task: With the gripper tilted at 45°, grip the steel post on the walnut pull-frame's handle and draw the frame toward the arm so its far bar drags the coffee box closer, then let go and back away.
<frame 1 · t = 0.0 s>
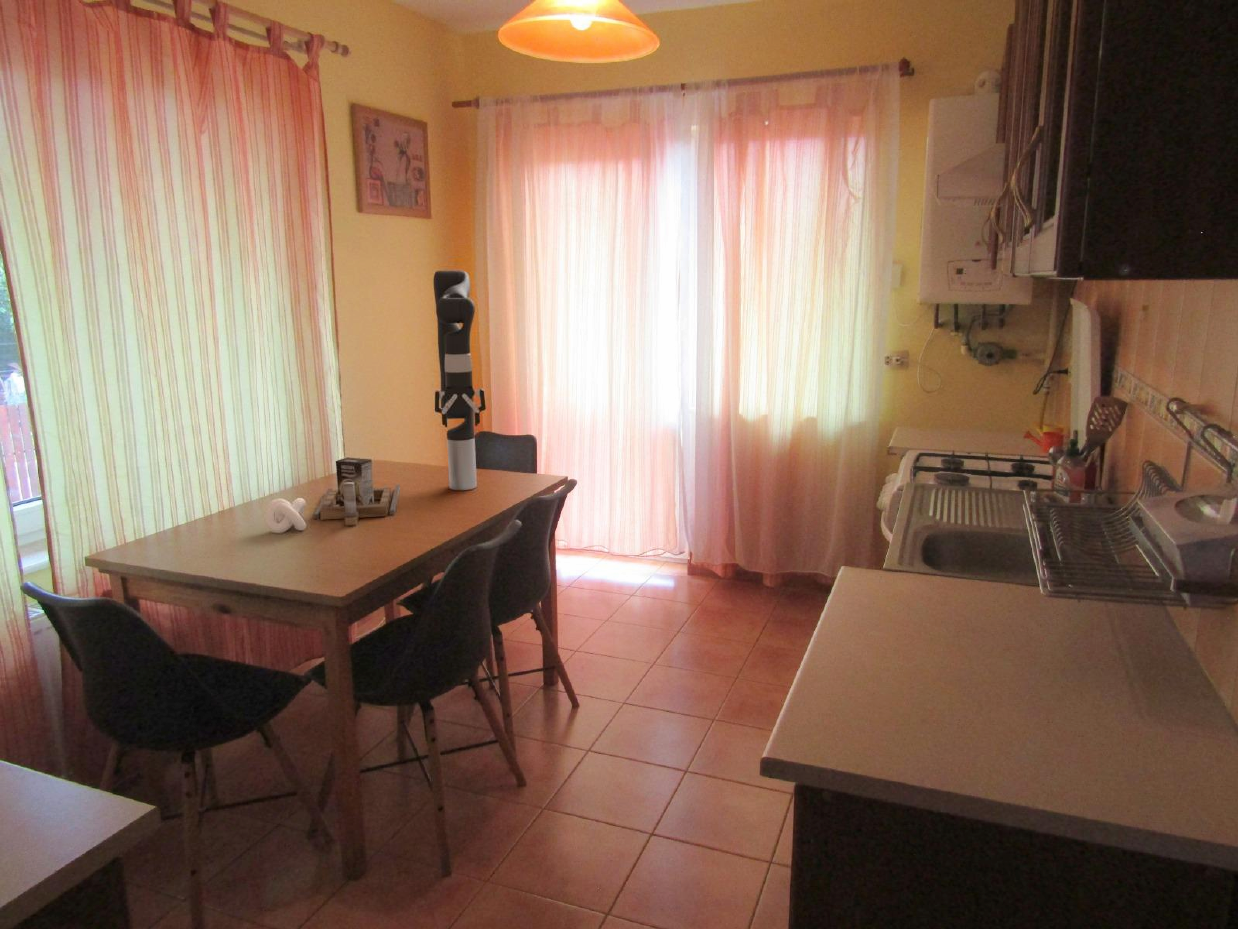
hand: (461, 426, 247), 29 cm above the table, tool pointing down, fingers open, 8 cm apart
guide rails: (359, 503, 277), on the table
coffee box: (357, 510, 270), resting in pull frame
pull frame: (355, 492, 266), point 6 cm above the table, slide at 0.0 cm
white knot sculpture: (286, 531, 249), on the table
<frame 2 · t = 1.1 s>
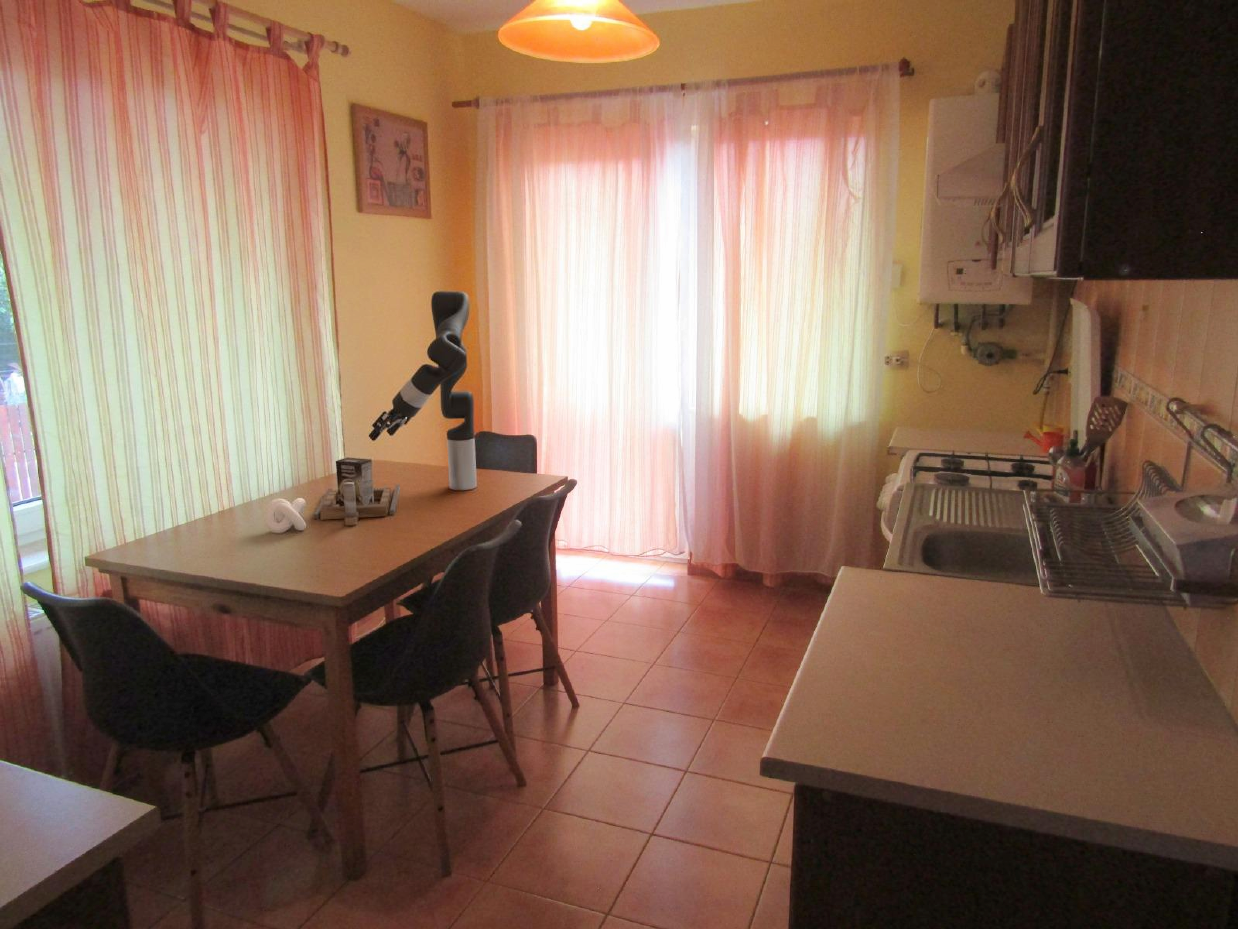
hand: (380, 435, 245), 27 cm above the table, tool tilted 45°, fingers open, 8 cm apart
nothing on the table moved.
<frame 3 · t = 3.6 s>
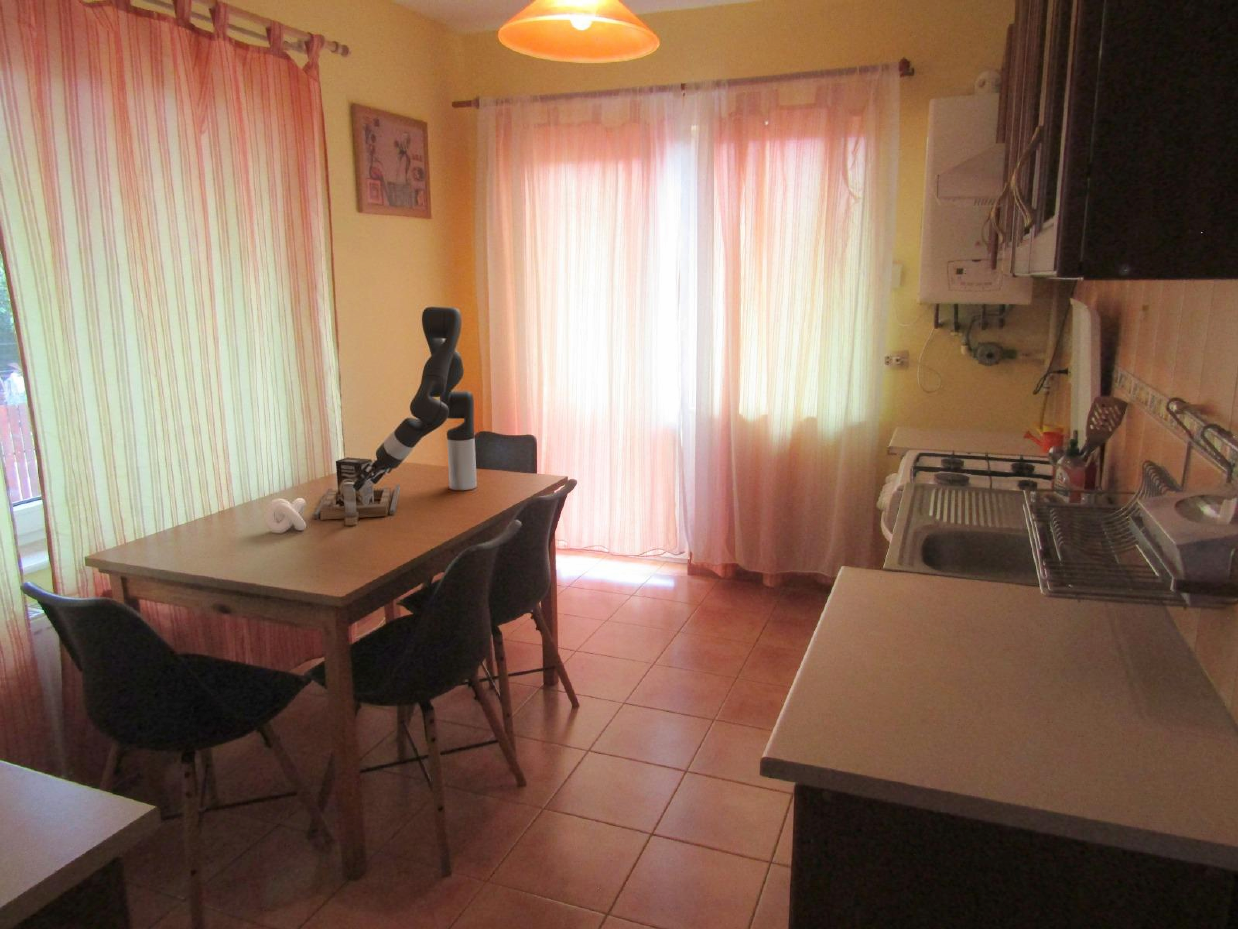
hand: (364, 485, 250), 12 cm above the table, tool tilted 45°, fingers open, 8 cm apart
nothing on the table moved.
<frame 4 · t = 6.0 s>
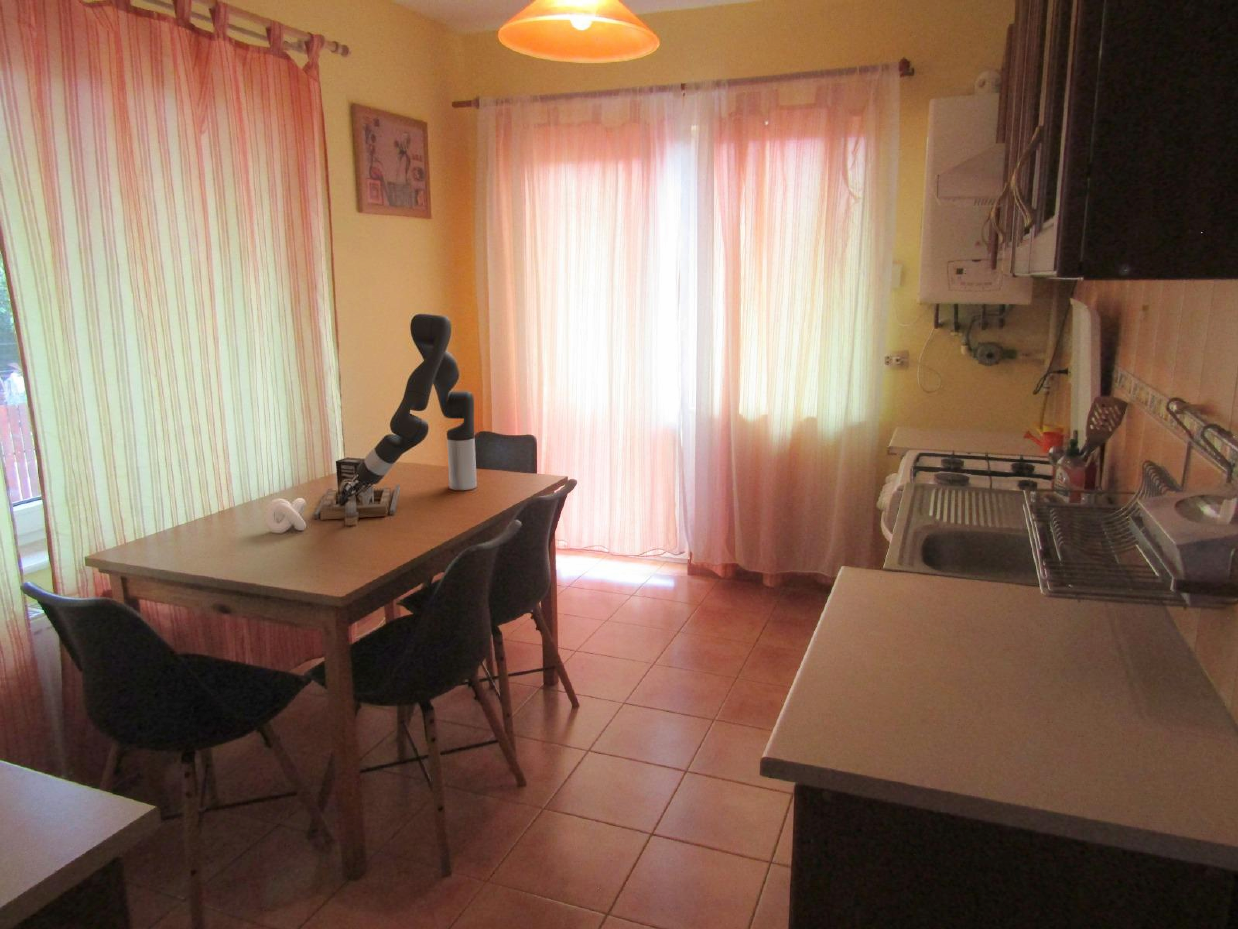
hand: (344, 502, 254), 6 cm above the table, tool tilted 45°, fingers closed on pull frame, 3 cm apart
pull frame: (355, 492, 266), point 6 cm above the table, slide at 0.0 cm, touching gripper
everything else where it was.
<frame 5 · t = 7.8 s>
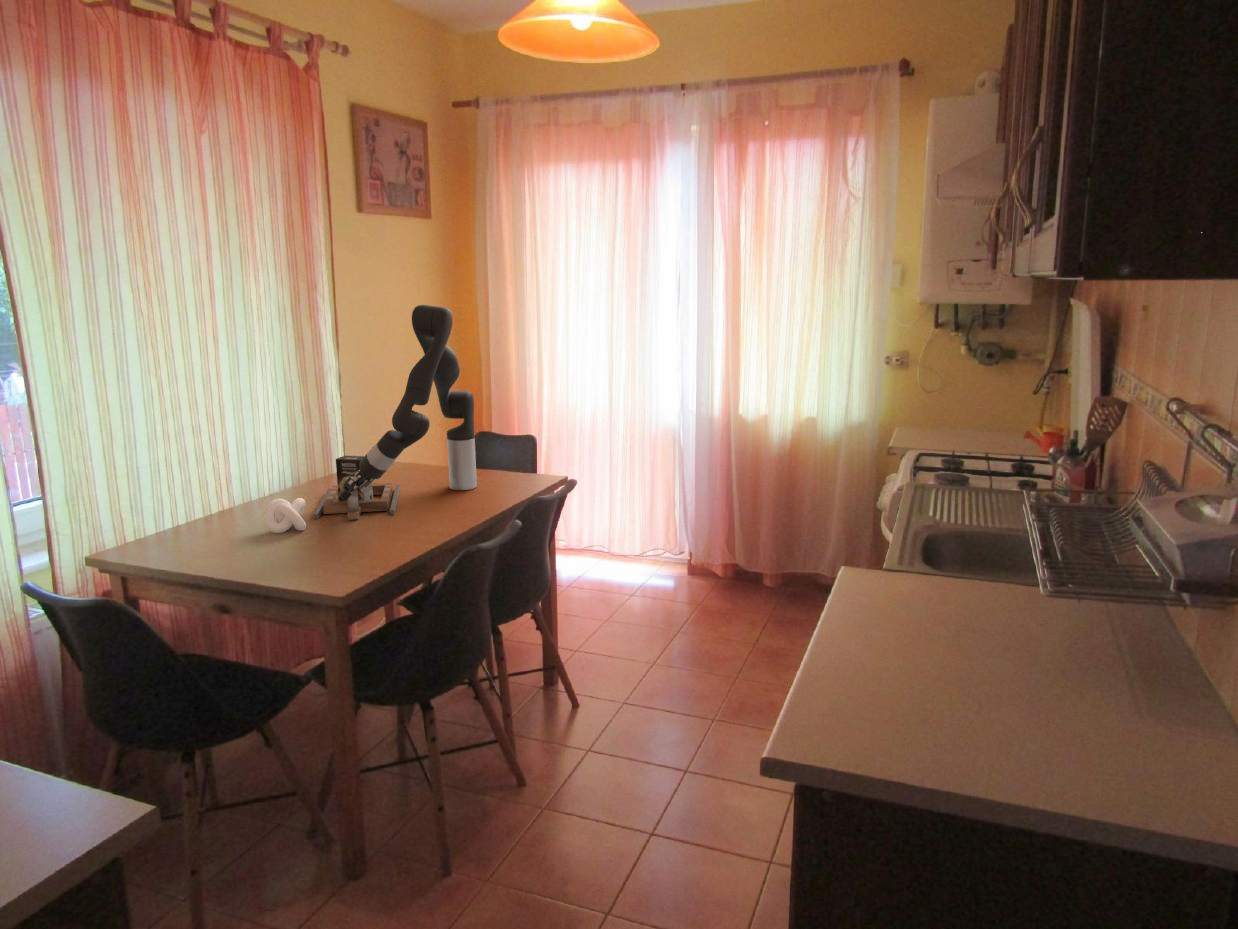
hand: (346, 496, 260), 6 cm above the table, tool tilted 45°, fingers closed on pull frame, 3 cm apart
coffee box: (356, 507, 273), resting in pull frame
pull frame: (357, 487, 272), point 6 cm above the table, slide at 6.2 cm, touching coffee box, gripper
everything else where it was.
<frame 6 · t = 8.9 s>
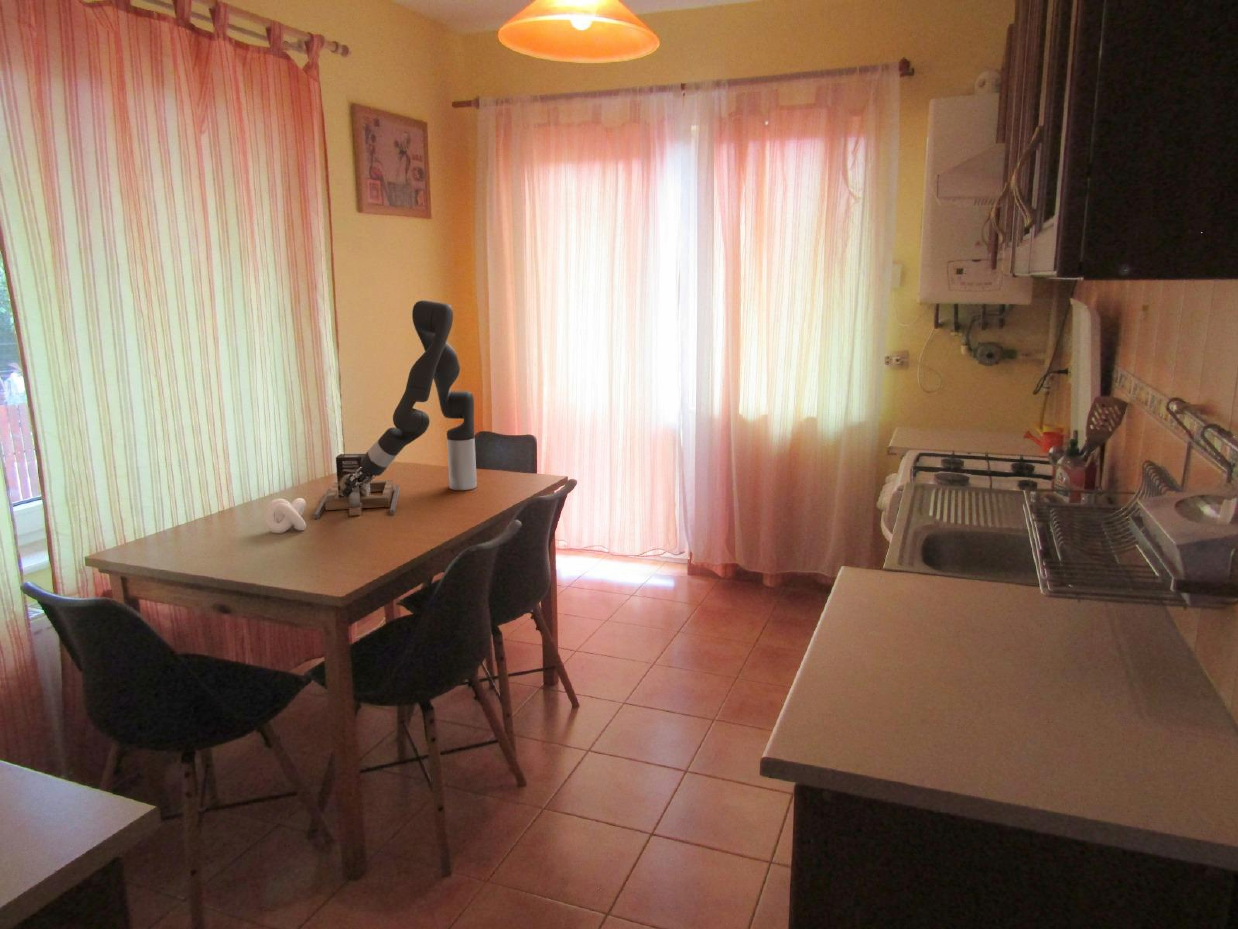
hand: (348, 493, 264), 6 cm above the table, tool tilted 45°, fingers closed on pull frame, 3 cm apart
coffee box: (355, 505, 276), resting in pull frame
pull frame: (358, 483, 276), point 6 cm above the table, slide at 10.6 cm, touching coffee box, gripper
everything else where it was.
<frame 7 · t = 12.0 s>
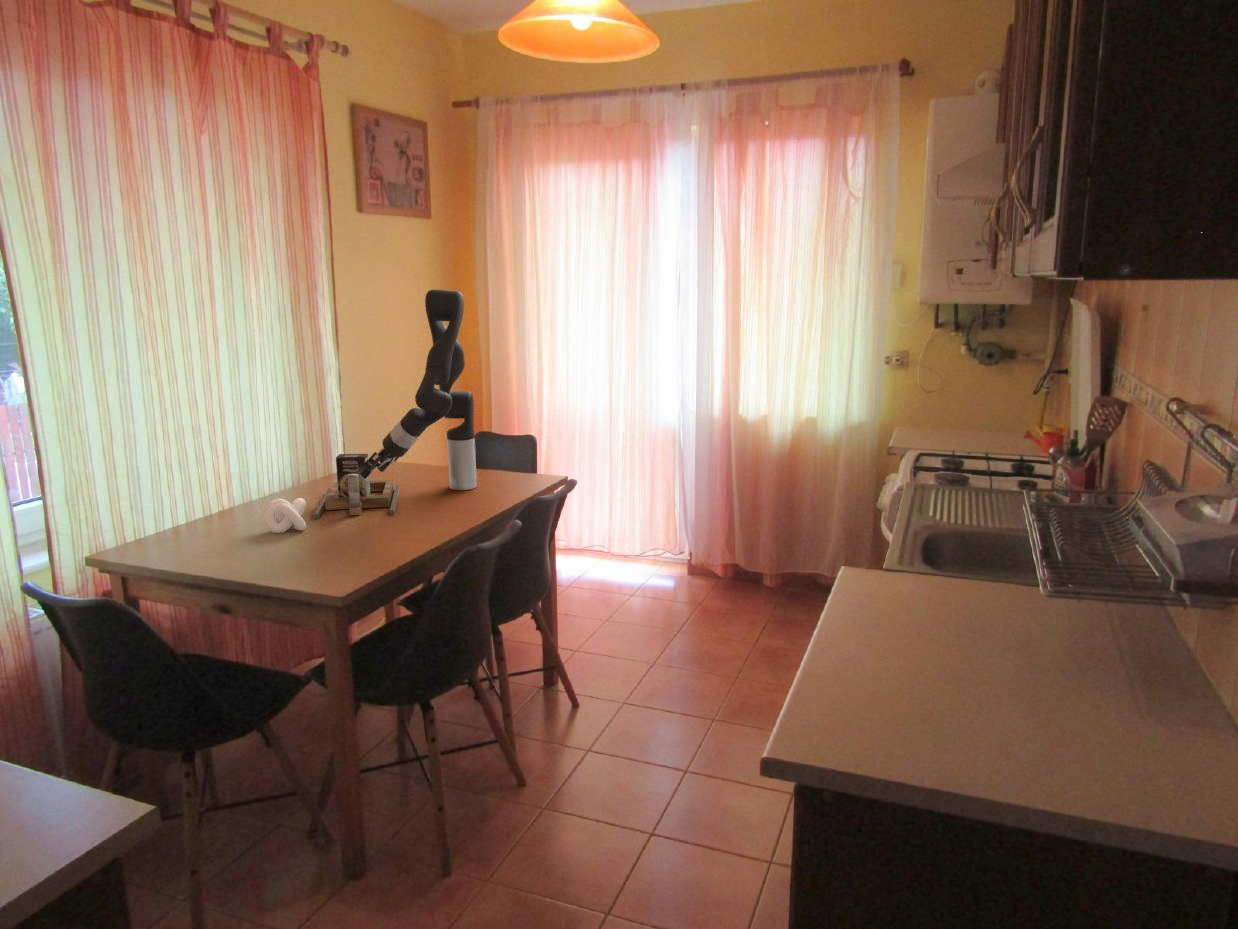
hand: (371, 473, 260), 13 cm above the table, tool tilted 45°, fingers open, 8 cm apart
coffee box: (355, 504, 276), resting in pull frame
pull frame: (358, 483, 277), point 6 cm above the table, slide at 10.9 cm
everything else where it was.
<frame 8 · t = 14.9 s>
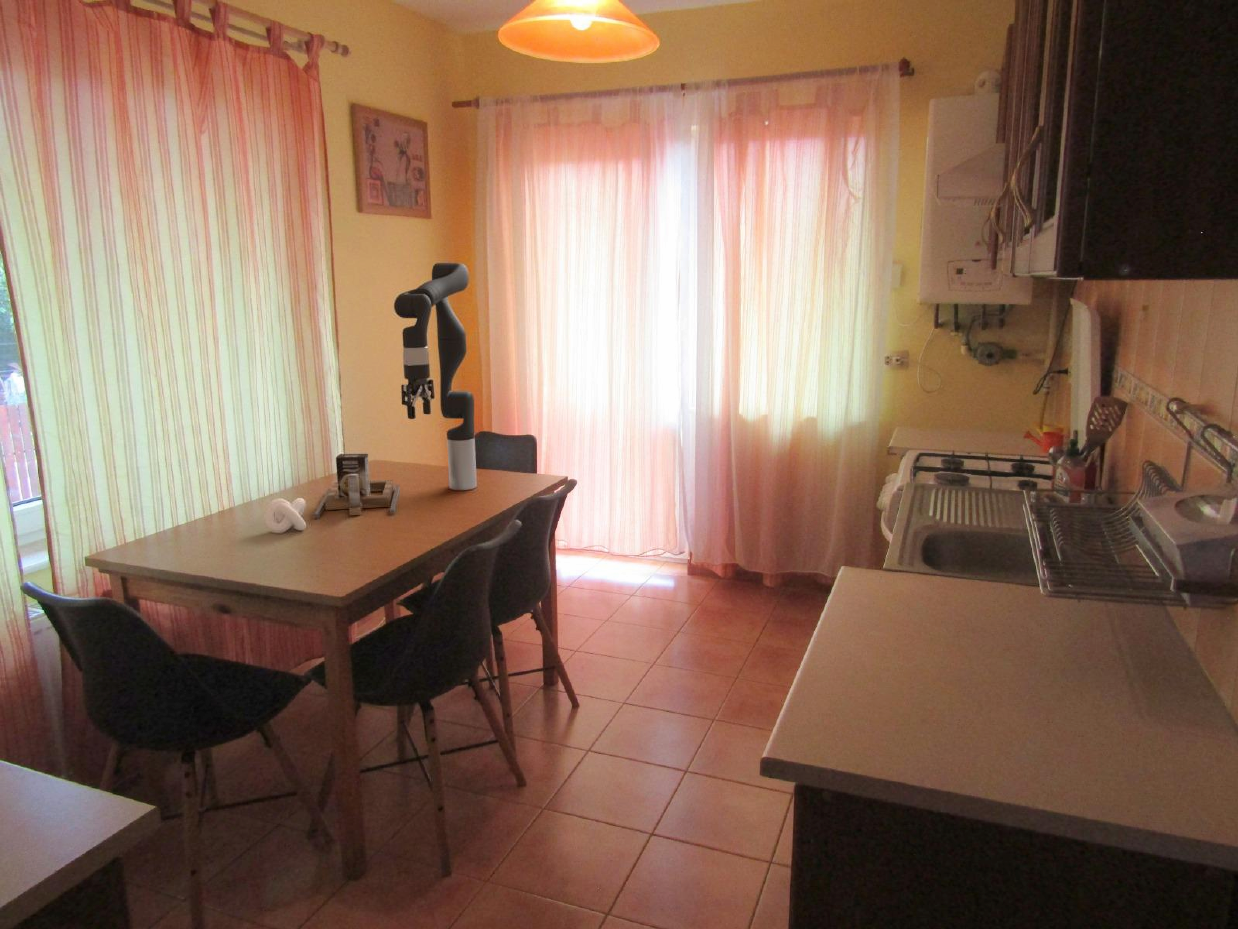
hand: (419, 416, 259), 30 cm above the table, tool pointing down, fingers open, 8 cm apart
nothing on the table moved.
at the end: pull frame slide at 10.9 cm; coffee box inside the target area (3.9 cm from its centre), resting in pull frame; coffee box tilted 0° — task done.
